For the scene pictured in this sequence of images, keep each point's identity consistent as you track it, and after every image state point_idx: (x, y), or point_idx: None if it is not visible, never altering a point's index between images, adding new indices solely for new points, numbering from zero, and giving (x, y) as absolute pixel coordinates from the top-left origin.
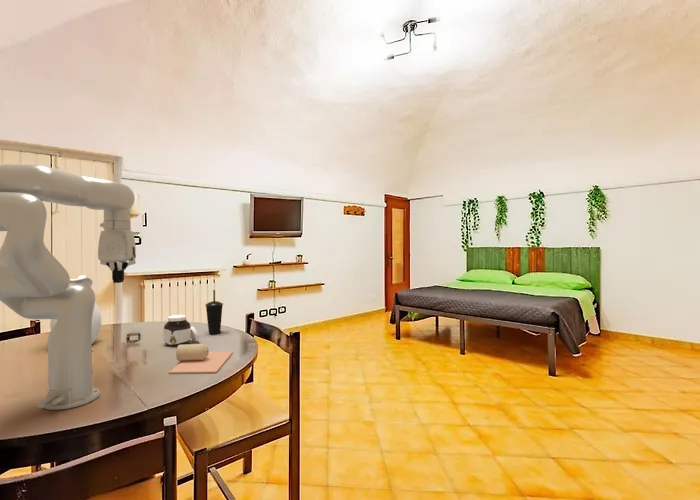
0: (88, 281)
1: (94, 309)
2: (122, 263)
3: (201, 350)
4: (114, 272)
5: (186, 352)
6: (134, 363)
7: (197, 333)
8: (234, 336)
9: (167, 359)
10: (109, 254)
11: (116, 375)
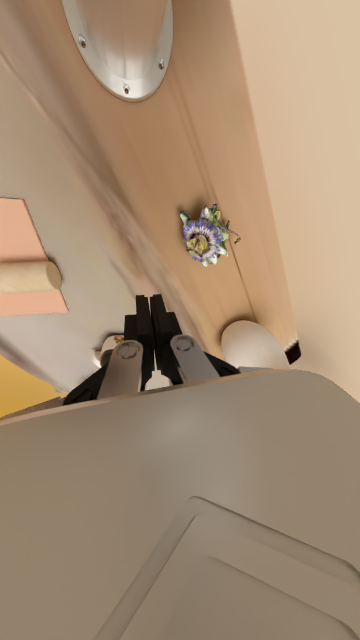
0: None
1: (238, 365)
2: (98, 396)
3: None
4: (160, 324)
5: (24, 264)
6: (132, 266)
7: (92, 358)
8: (60, 376)
9: (91, 283)
10: (263, 487)
11: (125, 204)
